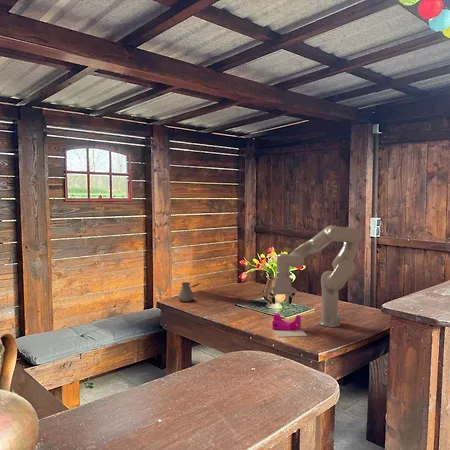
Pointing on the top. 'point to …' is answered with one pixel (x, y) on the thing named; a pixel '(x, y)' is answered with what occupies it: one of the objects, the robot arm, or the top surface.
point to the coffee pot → (186, 292)
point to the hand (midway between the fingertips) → (281, 303)
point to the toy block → (286, 323)
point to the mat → (290, 333)
